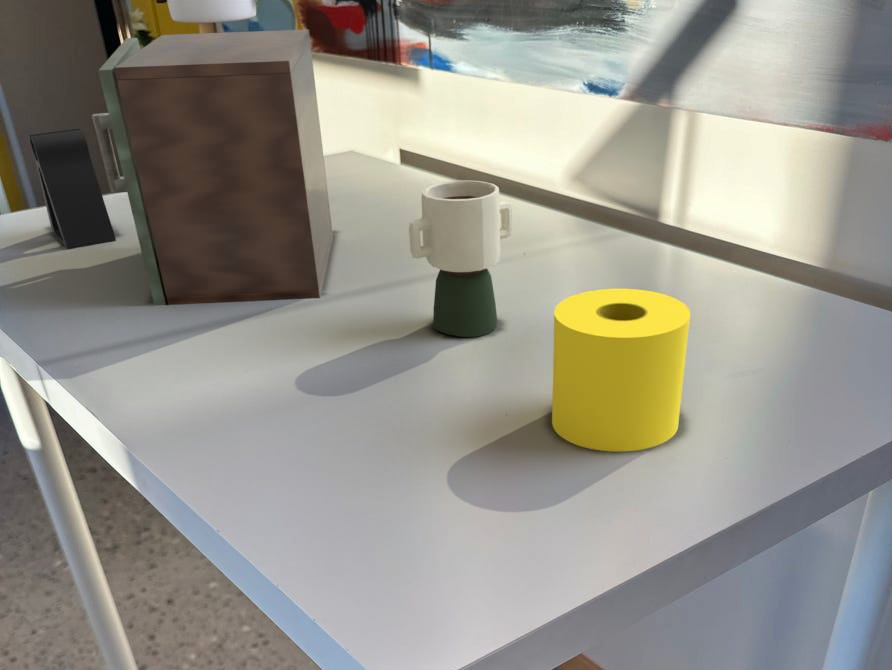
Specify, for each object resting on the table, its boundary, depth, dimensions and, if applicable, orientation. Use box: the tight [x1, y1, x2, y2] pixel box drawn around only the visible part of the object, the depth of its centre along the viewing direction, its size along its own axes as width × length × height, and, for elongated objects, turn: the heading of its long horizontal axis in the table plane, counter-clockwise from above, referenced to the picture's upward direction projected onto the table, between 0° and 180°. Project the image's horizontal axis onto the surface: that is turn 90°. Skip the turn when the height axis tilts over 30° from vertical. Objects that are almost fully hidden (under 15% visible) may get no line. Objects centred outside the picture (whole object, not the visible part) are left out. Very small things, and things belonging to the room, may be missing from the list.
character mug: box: [408, 179, 513, 338], centre depth 90 cm, size 11×7×13 cm, turn 123°
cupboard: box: [114, 28, 334, 306], centre depth 104 cm, size 16×22×22 cm
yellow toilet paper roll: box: [551, 288, 691, 453], centre depth 75 cm, size 10×10×9 cm
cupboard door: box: [91, 37, 168, 307], centre depth 104 cm, size 6×22×22 cm, turn 10°
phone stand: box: [28, 128, 117, 250], centre depth 119 cm, size 9×6×12 cm, turn 30°
